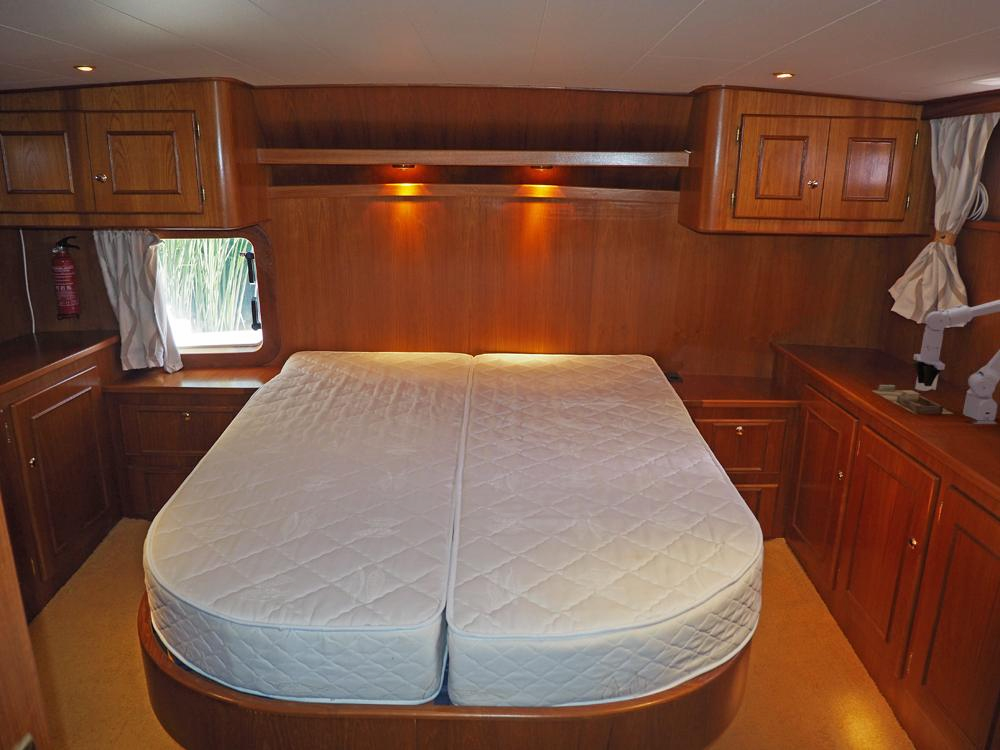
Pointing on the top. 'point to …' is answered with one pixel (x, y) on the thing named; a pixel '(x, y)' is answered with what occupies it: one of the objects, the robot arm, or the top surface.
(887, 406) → the top surface
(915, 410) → the cubby
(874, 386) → the top surface
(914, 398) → the cube
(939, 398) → the top surface
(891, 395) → the board
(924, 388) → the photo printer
